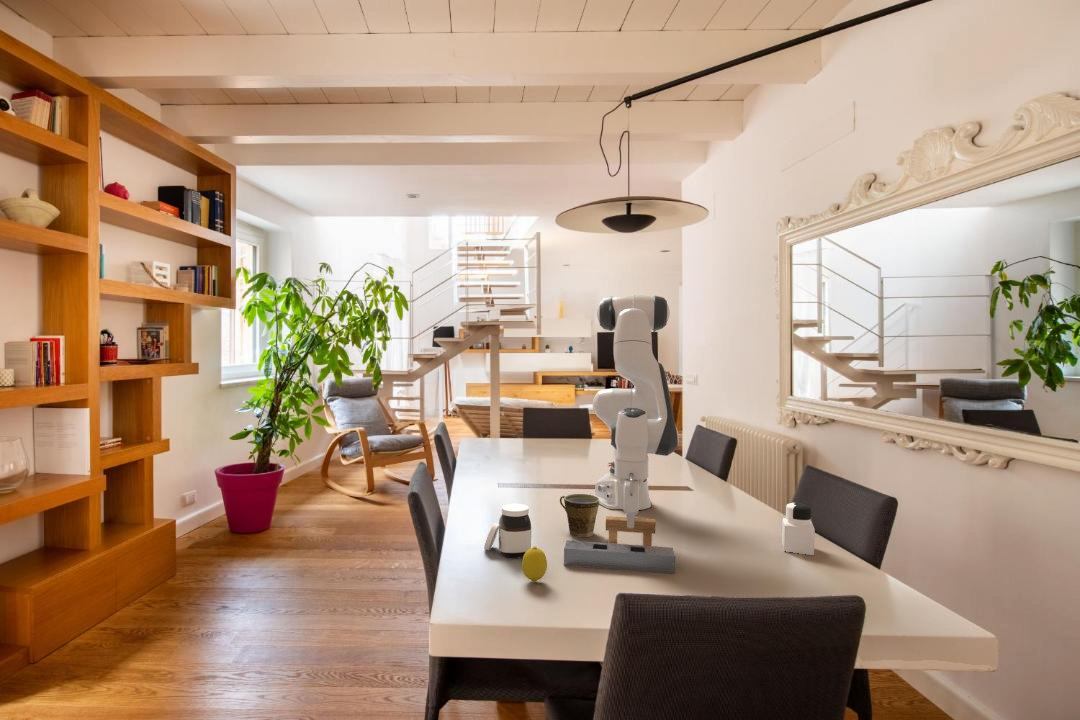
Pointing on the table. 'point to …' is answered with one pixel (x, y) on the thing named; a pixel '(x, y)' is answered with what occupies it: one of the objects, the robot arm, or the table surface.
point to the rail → (619, 556)
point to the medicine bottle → (798, 529)
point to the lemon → (534, 564)
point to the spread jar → (512, 531)
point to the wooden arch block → (639, 526)
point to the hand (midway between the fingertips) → (630, 522)
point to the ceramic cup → (581, 513)
